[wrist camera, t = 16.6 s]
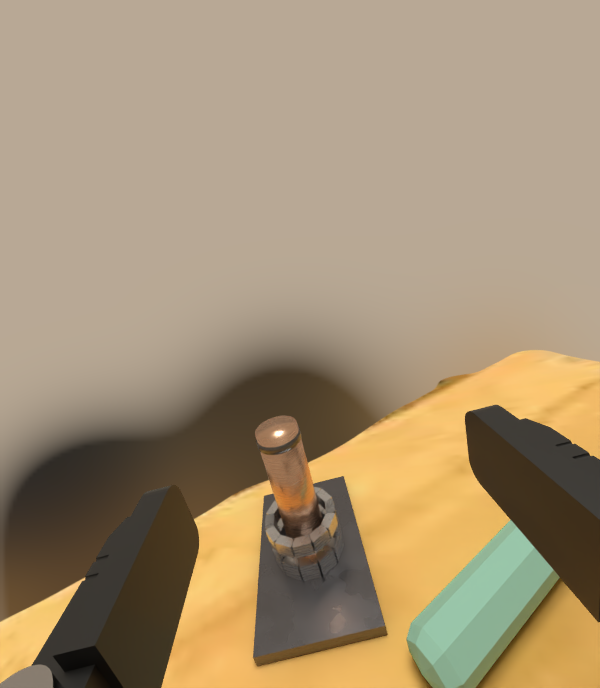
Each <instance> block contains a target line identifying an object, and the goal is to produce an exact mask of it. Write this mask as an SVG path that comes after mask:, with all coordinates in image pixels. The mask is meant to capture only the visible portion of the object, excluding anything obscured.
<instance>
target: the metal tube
mask: <svg viewBox="0 0 600 688" xmlns="http://www.w3.org/2000/svg"><path fill="white" fill-rule="evenodd" d="M255 436H256V442H257V445H258V449H259V451H260V452H261V455H262V458H263V461H264V464H265V467H266V471H267V474H268V477H269V480H270V484H271V487H272V490H273V493H274V497H275V500H276V503H277V506H278V509H279V513H280V516H281V519H282V522H283V525H284V529H285V532H286V535H287V537H290V538H298V537H302V536H306V535H309V534H310V533H312V532H313V531H314V530H315V529H316V528H318V527H319V526H320V525H321V523H322V521H323V519H322V516H321V512H320V508H319V504H318V501H317V497H316V493H315V489H314V485H313V482H312V478H311V474H310V470H309V467H308V463H307V459H306V455H305V451H304V448H303V444H302V440H301V433H300V429H299V426H298V425H297V421H296V419H295V418H293V417H290V416H277V417H274V418H271V419H268V420H266V421H264V422H263V423H262V424H260V425H259V426H258V427H257V429H256V431H255ZM320 550H321V549H320ZM315 554H316V552H315V551H314V554H312V555H315ZM308 556H311V555H308ZM295 557H296V556H295ZM304 557H307V556H304ZM300 558H302V557H300Z"/></svg>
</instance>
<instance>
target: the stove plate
mask: <svg viewBox="0 0 600 688" xmlns="http://www.w3.org/2000/svg"><path fill="white" fill-rule="evenodd" d="M313 485H314V489H315V493H316V497H317V501H318V504H319V508H320V512H321V516H322V519H323V521H322V523H321V525H320V526H319V527H318V528H316V529H315V530H314V531H313V532H312V533H310V534H309V535H306V536H302V537H298V538H290V537H287V535H286V532H285V529H284V525H283V522H282V519H281V516H280V513H279V509H278V506H277V503H276V500H275V497H274V494H270V495H266V496H264V505H263V520H262V535H261V550H260V565H259V579H258V594H257V609H256V624H255V639H254V654H253V658H254V661H255V663H256V665H257V666H260V665H264V664H268V663H272V662H276V661H281V660H285V659H289V658H293V657H297V656H301V655H305V654H309V653H314V652H318V651H322V650H326V649H330V648H334V647H338V646H342V645H347V644H351V643H355V642H359V641H363V640H367V639H371V638H375V637H380V636H384V635H387V631H386V627H385V623H384V620H383V616H382V613H381V609H380V606H379V602H378V598H377V595H376V591H375V588H374V584H373V580H372V577H371V573H370V570H369V566H368V562H367V559H366V555H365V552H364V548H363V544H362V541H361V537H360V534H359V530H358V527H357V523H356V519H355V516H354V512H353V509H352V505H351V501H350V498H349V494H348V491H347V487H346V483H345V480H344V476H342V477H338V478H334V479H330V480H326V481H322V482H318V483H314V484H313ZM320 549H321V550H320ZM314 551H315V552H316V554H315V555H312V554H314ZM308 555H311V556H308ZM295 556H296V557H295ZM304 556H307V557H304ZM300 557H302V558H300Z"/></svg>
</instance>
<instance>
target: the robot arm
mask: <svg viewBox="0 0 600 688" xmlns="http://www.w3.org/2000/svg"><path fill="white" fill-rule="evenodd" d="M465 425H466V434H467V444H468V454H469V461H470V465H471V468H472V470H473V473H474V475H475V477H476V478H477V480H478V481H479V483H480V484H481V485H482V487H483V488H484V489H485V490H486V491H487V492H488V494H489V495H490V496H491V497H492V498H493V499H494V501H495V502H496V503H497V504H498V505H499V506H500V508H501V509H502V510H503V511H504V512H505V513H506V515H507V516H508V517H509V518H510V519H511V521H512V522H513V523H514V524H515V525H516V526H517V528H518V529H519V530H520V531H521V532H522V533H523V535H524V536H525V537H526V538H527V539H528V540H529V542H530V543H531V544H532V545H533V546H534V547H535V549H536V550H537V551H538V552H539V553H540V555H541V556H542V557H543V558H544V559H545V560H546V562H547V563H548V564H549V565H550V566H551V567H552V569H553V570H554V571H555V572H556V573H557V574H558V576H559V577H560V578H561V579H562V580H563V581H564V583H565V584H566V585H567V586H568V587H569V588H570V590H571V591H572V592H573V593H574V594H575V596H576V597H577V598H578V599H579V600H580V601H581V603H582V604H583V605H584V606H585V607H586V608H587V610H588V611H589V612H590V613H591V614H592V615H593V617H594V618H595V619H596V620H597V621H598V622H600V460H599V459H598V458H596V457H594V456H590V455H589V453H588V452H587V451H585V450H584V449H582V448H581V447H579V446H578V445H576V444H572V443H571V441H570V440H569V439H567V438H566V437H564V436H563V435H561V434H560V433H558V432H556V431H555V430H553V429H552V428H550V427H548V426H545V425H542V424H540V423H537V422H534V421H531V420H529V419H526V418H525V419H521V420H519V419H518V418H516V417H515V416H513V415H512V414H511V413H509V412H508V411H506V410H505V409H504V408H502V407H501V406H499V405H493V406H489V407H485V408H481V409H477V410H473V411H469V412H467V413H466V415H465ZM198 549H199V534H198V529H197V526H196V524H195V522H194V519H193V517H192V515H191V513H190V511H189V508H188V506H187V504H186V502H185V500H184V497H183V495H182V493H181V491H180V489H179V488H178V487H177V486H176V485H172V486H168V487H164V488H160V489H156V490H152V491H148V492H146V493H144V494H143V496H142V497H141V499H140V501H139V503H138V504H137V506H136V508H135V510H134V512H133V513H132V515H131V516H130V517H127V518H126V519H125V520H124V521H123V522H122V523H121V524H120V525H119V527H118V528H117V529H116V530H115V531H114V532H113V533H112V534H111V535H110V536H109V537H108V539H107V541H106V543H105V544H104V546H103V547H102V549H101V551H100V553H99V554H98V556H97V558H96V559H97V560H96V562H94V563H93V564H92V566H91V568H90V569H89V571H88V573H87V574H86V576H85V577H86V578H85V581H82V583H81V584H80V586H79V588H78V589H77V591H76V593H75V594H74V596H73V598H72V599H71V601H70V603H69V604H68V606H67V608H66V609H65V611H64V613H63V614H62V616H61V618H60V619H59V621H58V623H57V624H56V626H55V628H54V629H53V631H52V633H51V634H50V636H49V638H48V639H47V641H46V643H45V644H44V646H43V648H42V649H41V651H40V653H39V654H38V656H37V658H36V659H35V661H34V662H33V664H32V666H29V667H27V668H24V669H22V670H20V671H18V672H17V673H15V674H13V675H12V676H10V677H9V678H7V679H6V680H5V681H3V682H2V683H1V684H0V688H161V686H162V682H163V679H164V675H165V671H166V668H167V664H168V660H169V657H170V653H171V650H172V646H173V642H174V639H175V635H176V631H177V628H178V624H179V620H180V617H181V613H182V609H183V606H184V602H185V598H186V595H187V591H188V587H189V584H190V580H191V576H192V573H193V569H194V565H195V562H196V558H197V554H198Z"/></svg>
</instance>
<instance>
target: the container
mask: <svg viewBox="0 0 600 688" xmlns="http://www.w3.org/2000/svg"><path fill="white" fill-rule="evenodd" d="M559 578H560V577H559V576H558V574H557V573H556V572H555V571H554V570H553V569H552V567H551V566H550V565H549V564H548V563H547V562H546V560H545V559H544V558H543V557H542V556H541V555H540V553H539V552H538V551H537V550H536V549H535V547H534V546H533V545H532V544H531V543H530V542H529V540H528V539H527V538H526V537H525V536H524V535H523V533H522V532H521V531H520V530H519V529H518V528H517V526H516V525H515V524H514V523H513V522H512V521H511V520H510V521H509V522H508V523H507V524H506V525H505V526H504V527H503V528H502V529H501V530H500V531H499V532H498V534H497V535H496V536H495V537H494V538H493V539H492V540H491V541H490V542H489V543H488V544H487V545H486V546H485V547H484V548H483V549H482V550H481V551H480V552H479V553H478V554H477V555H476V556H475V557H474V558H473V559H472V560H471V561H470V563H469V564H468V565H467V566H466V567H465V568H464V569H463V570H462V571H461V572H460V573H459V574H458V575H457V576H456V577H455V578H454V579H453V580H452V581H451V582H450V583H449V584H448V585H447V586H446V587H445V588H444V589H443V590H442V591H441V593H440V594H439V595H438V596H437V597H436V598H435V599H434V600H433V601H432V602H431V603H430V604H429V605H428V606H427V607H426V608H425V609H424V610H423V611H422V612H421V613H420V614H419V615H418V616H417V617H416V618H415V619H414V620H413V622H412V623H411V625H410V629H409V632H408V636H407V643H408V647H409V651H410V653H411V655H412V657H413V659H414V661H415V663H416V664H417V666H418V668H419V670H420V672H421V674H422V675H423V677H424V678H425V679H426V680H427V682H428V683H429V684H430V685H431V686H432V688H476V686H477V685H478V684H479V682H480V681H481V680H482V679H483V677H484V676H485V675H486V673H487V672H488V671H489V669H490V668H491V667H492V665H493V664H494V663H495V662H496V660H497V659H498V658H499V656H500V655H501V654H502V652H503V651H504V650H505V648H506V647H507V646H508V645H509V643H510V642H511V641H512V639H513V638H514V637H515V635H516V634H517V633H518V631H519V630H520V629H521V628H522V626H523V625H524V624H525V622H526V621H527V620H528V618H529V617H530V616H531V614H532V613H533V612H534V611H535V609H536V608H537V607H538V605H539V604H540V603H541V601H542V600H543V599H544V597H545V596H546V595H547V594H548V592H549V591H550V590H551V588H552V587H553V586H554V584H555V583H556V582H557V580H558V579H559Z"/></svg>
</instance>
